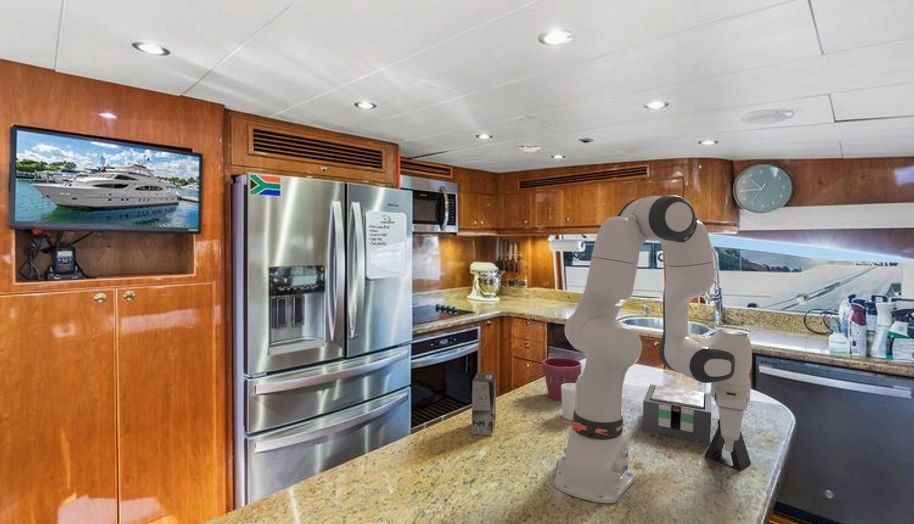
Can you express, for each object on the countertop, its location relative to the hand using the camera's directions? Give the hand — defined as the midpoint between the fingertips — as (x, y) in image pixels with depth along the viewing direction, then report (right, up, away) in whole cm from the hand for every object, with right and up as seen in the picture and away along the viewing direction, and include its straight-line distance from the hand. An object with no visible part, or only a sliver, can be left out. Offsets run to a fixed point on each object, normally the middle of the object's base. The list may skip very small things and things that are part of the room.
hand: (727, 443), depth 119 cm
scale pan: (-3, +5, +20) cm, 21 cm away
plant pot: (-33, -2, +48) cm, 58 cm away
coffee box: (-63, -3, +19) cm, 66 cm away
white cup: (-34, -3, +28) cm, 44 cm away
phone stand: (0, -5, 0) cm, 5 cm away
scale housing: (-2, -3, +22) cm, 23 cm away
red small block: (-7, +4, +14) cm, 16 cm away
